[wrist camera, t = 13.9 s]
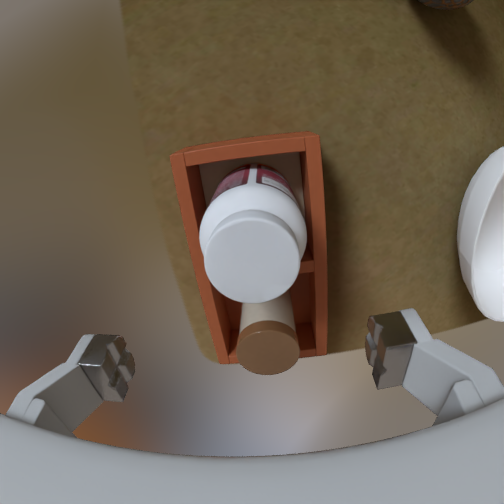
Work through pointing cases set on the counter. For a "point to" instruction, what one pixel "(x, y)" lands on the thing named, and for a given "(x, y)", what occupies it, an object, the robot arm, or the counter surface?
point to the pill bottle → (253, 235)
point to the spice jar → (268, 336)
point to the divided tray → (312, 208)
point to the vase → (446, 3)
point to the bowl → (484, 237)
